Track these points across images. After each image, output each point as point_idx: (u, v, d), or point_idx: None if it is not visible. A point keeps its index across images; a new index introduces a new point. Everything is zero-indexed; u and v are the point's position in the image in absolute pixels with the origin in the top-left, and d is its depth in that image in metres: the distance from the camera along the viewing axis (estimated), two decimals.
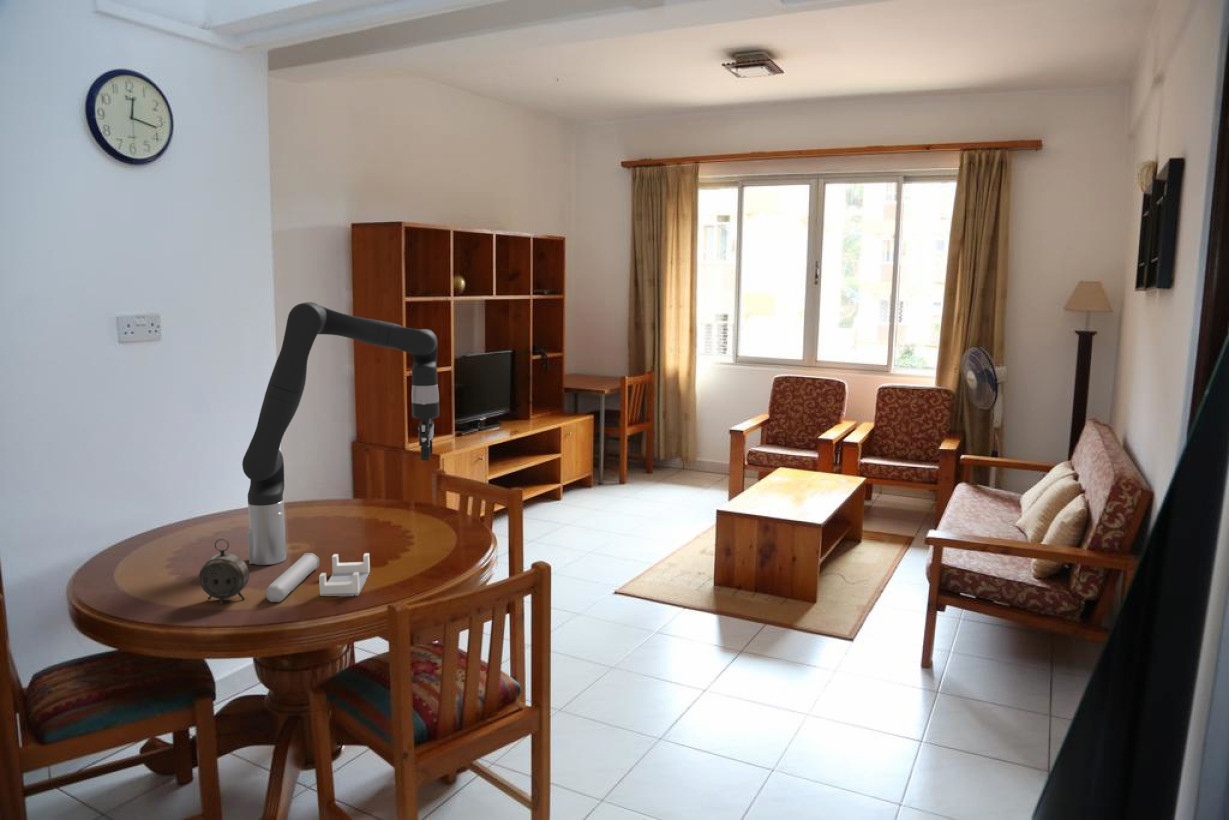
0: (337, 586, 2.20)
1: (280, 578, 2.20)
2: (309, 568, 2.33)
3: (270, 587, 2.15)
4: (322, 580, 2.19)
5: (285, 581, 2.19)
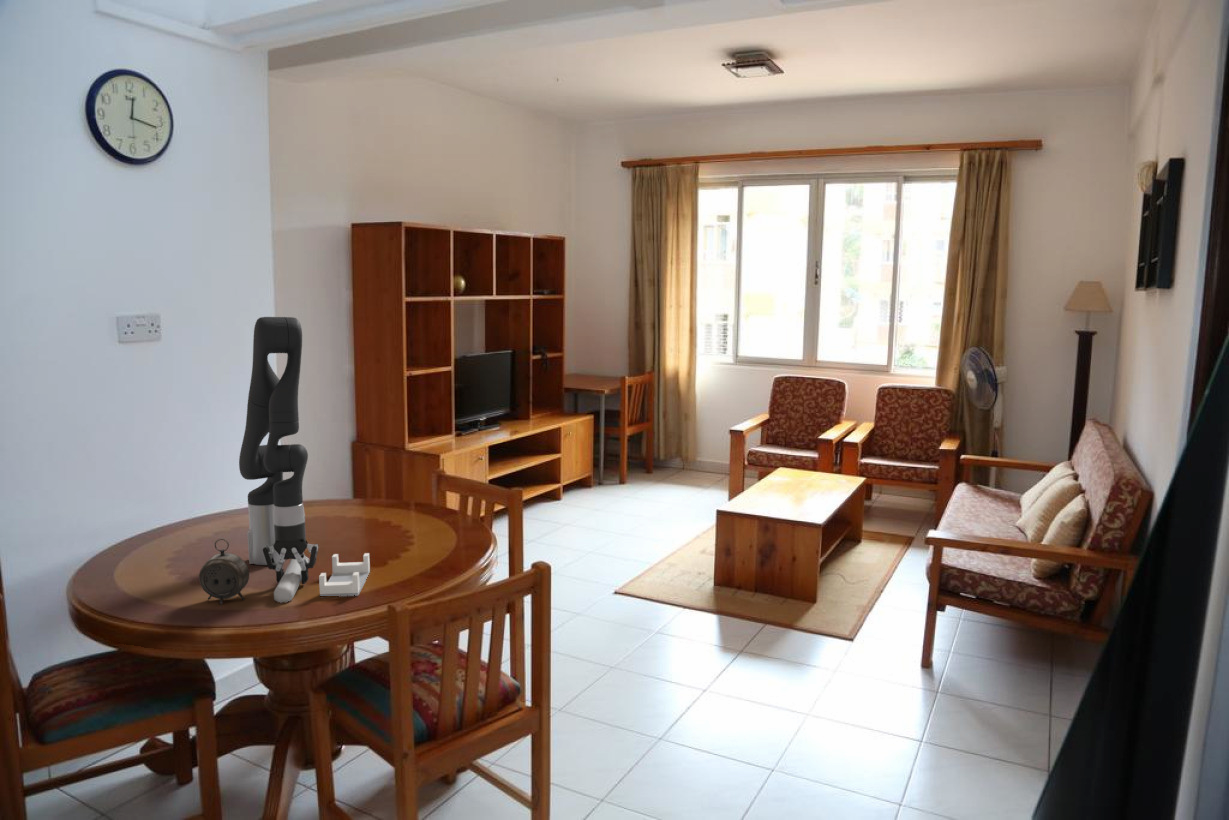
0: (337, 586, 2.20)
1: (284, 579, 2.20)
2: None
3: (279, 588, 2.16)
4: (322, 580, 2.19)
5: (291, 582, 2.20)
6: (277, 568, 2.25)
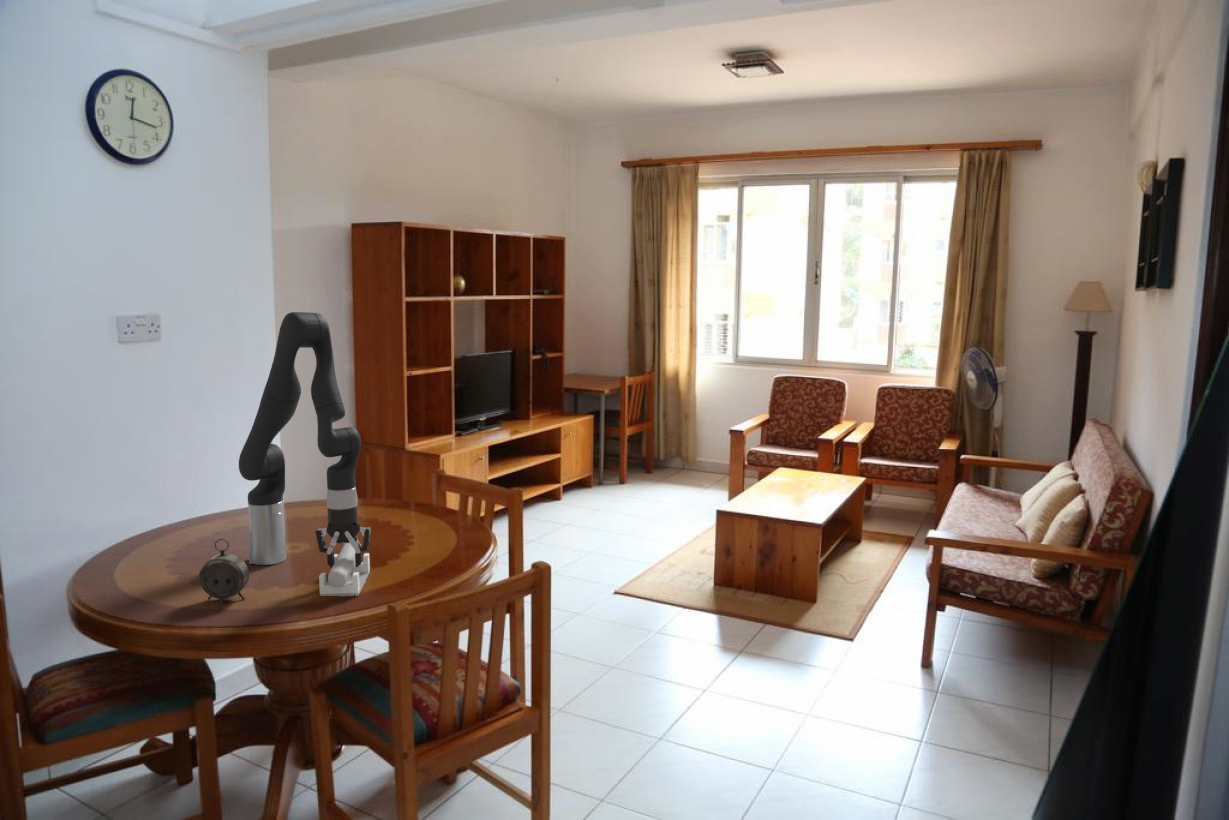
0: None
1: (338, 564, 2.21)
2: None
3: (333, 572, 2.16)
4: (322, 580, 2.19)
5: (344, 566, 2.21)
6: (328, 551, 2.25)
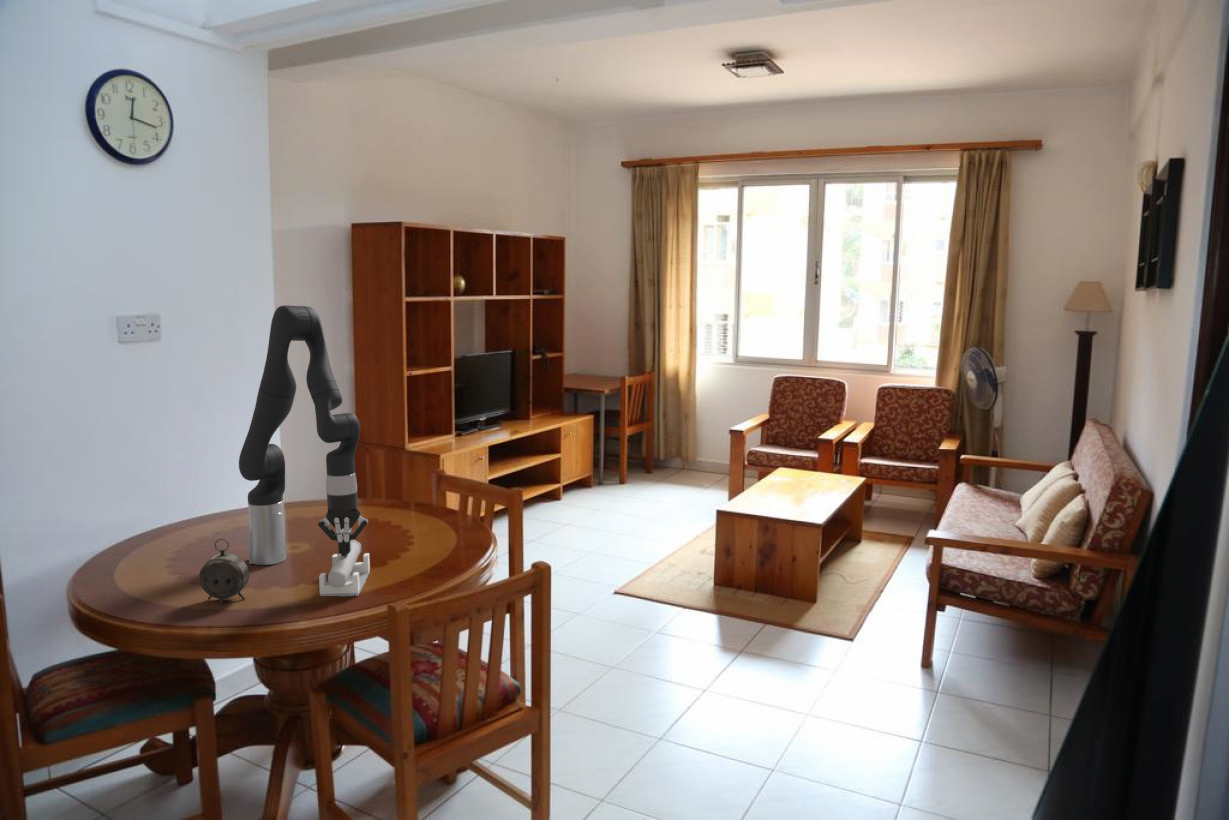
0: None
1: (338, 564, 2.21)
2: (357, 554, 2.35)
3: (333, 572, 2.16)
4: (322, 580, 2.19)
5: (344, 566, 2.21)
6: (339, 539, 2.25)
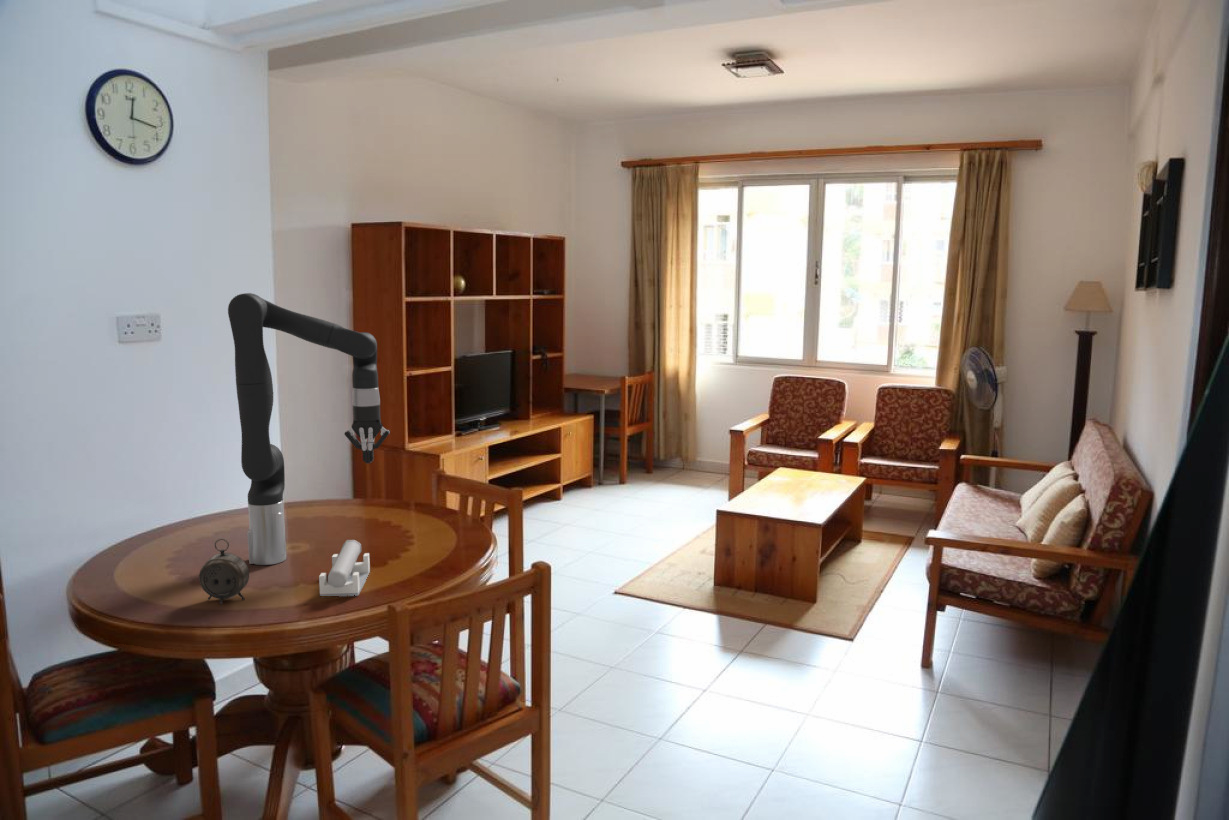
0: None
1: (338, 564, 2.21)
2: (357, 554, 2.35)
3: (333, 572, 2.16)
4: (322, 580, 2.19)
5: (344, 566, 2.21)
6: (364, 447, 2.48)
